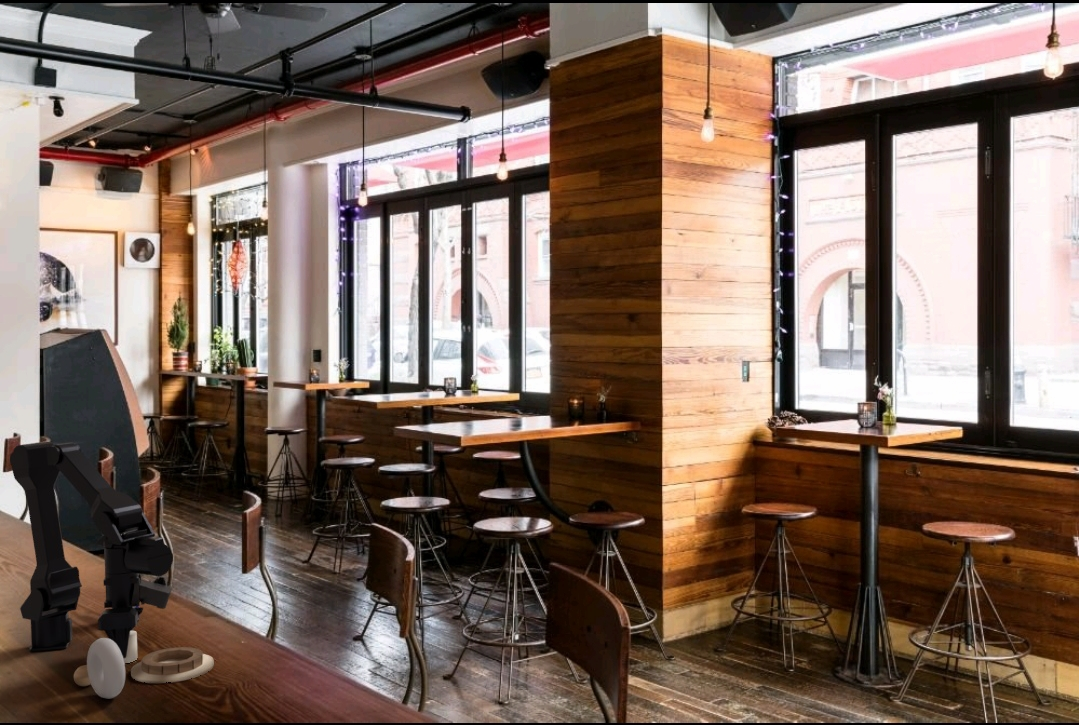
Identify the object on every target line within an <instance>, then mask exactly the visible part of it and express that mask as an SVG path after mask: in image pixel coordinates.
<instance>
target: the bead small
mask: <svg viewBox="0 0 1079 725" xmlns="http://www.w3.org/2000/svg"><path fill="white" fill-rule="evenodd" d="M73 680H74V682H75V684H76V685H78V686H80V687H87V686H90V685H91V682H90V680H89V676H88V670H87V664H85V665H84V664H83V665H80V666H79V667H77V669H76V670H74V673H73Z"/></svg>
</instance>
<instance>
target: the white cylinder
mask: <svg viewBox="0 0 1079 725" xmlns="http://www.w3.org/2000/svg"><path fill="white" fill-rule="evenodd" d="M137 634H138V633H137V631H136V630H133V631H130V637H129V643H128V649H127V656H126V658H123V659H124V663H130V662H133V661H135V660H137V658H138V657H139V656H138V635H137ZM137 661H138V660H137ZM135 662H136V661H135ZM133 663H134V662H133ZM130 664H131V663H130Z"/></svg>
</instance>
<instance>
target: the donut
mask: <svg viewBox="0 0 1079 725" xmlns="http://www.w3.org/2000/svg"><path fill="white" fill-rule="evenodd" d="M86 656H87V657H86V665H87V670H88V676H89V680H90V682H91V684H90V685H91V687H92V688H93V690H94V692H95V693H96V694H97V695H98V697H100V698H103V699H109V700H110V699H113V698H116V697H117V696H119V695H120V693H121V692H122V690H123V688H124V686H125V682H126V666H125V665H126V664H125V663H124V659H123V656H122V653H121V651H120V649H119V647H118V646H117V644H116V643H115V642H114V641H113V640H111V639H109V638H108V637H100V638H98V639H96V640H95V641H94V642H92V643H91V645H90V647H89V649H88V651H87V655H86Z"/></svg>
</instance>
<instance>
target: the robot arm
mask: <svg viewBox="0 0 1079 725" xmlns="http://www.w3.org/2000/svg"><path fill="white" fill-rule="evenodd" d="M9 463H10V467H11V471H12V474H13V478H14V480H15V481H16V482H17V483H18V484H19V486H20V487H22V488H23V490H24V491H25V494H26V495H25V496H26V502H27V507H28V508H27V509H28V515H29V521H30V528H31V535H32V541H33V542H32V543H33V549H34V554H35V555H34V556H35V559H36V566H35V569H34V570H33V573H32V576H31V579H30V581H29V583H30V584H29V585H30V587H29V588H30V594H29V595H28V596H27V598H26V599H25V600H24V602H23V603H22V604H21V606H20V609H19V610H20V612H21V617H22V619H24V620H25V619H26V620H29V621H30V637H31V646H30V647H29V652H40V651H49V650H50V651H51V650H52V651H53V650H63V649H66V648H68V646H69V644H70V643H71V642H72V640H73V618H72V617H70V616H69V615H70V614H69V613H70V612H72V611H76V610H77V608H78V603H79V598H80V597H81V588H82V587H83V585H82V583H81V579H80V570H79V568H78V566H75V565H74V566H72V565H71V564H70V563H69V562H68V561H67V560H66V558H65V551H64V543H63V537H62V531H61V530H62V529H61V525H60V518H59V512H58V506H57V499H56V498H57V497H56V491H55V485H56V483H57V479H58V477H59V475H60V473H61V474H62V475H63V476H64V478H66V479H67V481H68V482H69V483H70V484H71V485H72V487H74V489H75V490H76V492H78V494H79V495H80V496H81V497H82V498H83V500H85V502H86V503H87V504H88V506H89V508H90V513H91V514H90V515H91V516H90V517H91V519H92V521H93V523H94V525H95V527H96V528H97V529H98V531H99V533H101V537H100V538H99V539H97V541H96V542H95V545H96V546H99V547H103V548H104V549H103V550H104V552H103V553H104V554H103V556H104V579H103V587H105V601H104V603H103V605H104V608H103V609H105V610H103V612H102V613H100V615H99V617H98V618H97V628H98V629H97V630H98V631H103V632H104V633H105V634H106V636H107V638H108V639H111V640H113V641H114V642H115V643H116V644H117V646H118V647H119V649H120V651H121V653H122V656H123V658H126V656H127V649H128V643H129V637H130V631H134V628H136V627H137V625H138V623H139V621H140V620H139V618H138V616H139V617H140V615H141V614H142V613H143V610H144V607H142V606H141V605H143V606H144V605H151V606H153V607H156V608H158V609H161V610H165V609H166V607H167V605H168V602H169V598H170V596H171V593H172V591H173V588H172V587H171V585H169V584H168V581H167V578H166V577H164V575H166V574H167V573H168V572H169V571H170V569H171V567H172V566H173V561H174V554H173V553H172V550H171V548H170V547H169V546H168V545H166V544H164V537H160V536H156V534H155V532H154V530H153V526H152V525H151V524H150V522H149V520H148V518H147V516H146V515H145V514H144V510H143V508H142V506H141V505H140V504H139V503H138V502H137V501H136V500H135V499H134V498H133V497H131V496H130V495H128V494H127V493H124V492H121V491H119V490H116V489H115V488H114V487H112V486H111V484H109V482H108V481H107V480H106V478H105V477H104V476H102V474H101V473H100V472H99V471H98V470H97V469H96V468H95V467H94V465H93V464H92V463H91V462H90V461H89V460H88V458H87V457H86V456H85V455H84V453H82V449H81V447H80V445H79V444H77V443H74V442H65V443H58V444H56V443H55V444H54V443H52V442H51V441H40V442H33V443H25V444H19V445H16V446H15V447H14V448H13V450H12V452H11V453H10V456H9ZM155 536H156V537H155ZM143 575H148V576H153V577H156V578H155V579H154V580H143ZM135 606H139V608H135Z"/></svg>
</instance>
